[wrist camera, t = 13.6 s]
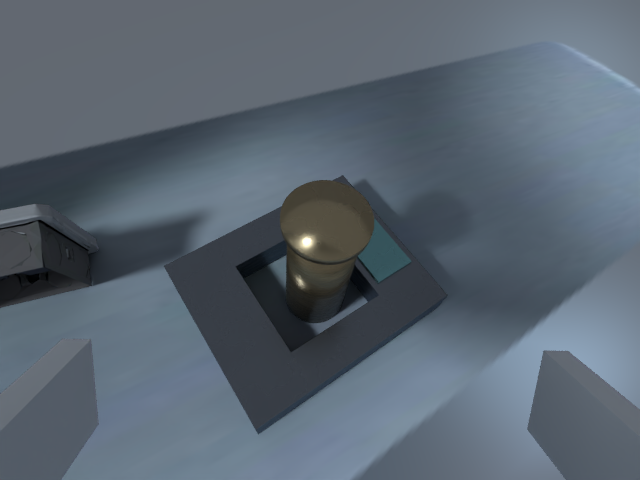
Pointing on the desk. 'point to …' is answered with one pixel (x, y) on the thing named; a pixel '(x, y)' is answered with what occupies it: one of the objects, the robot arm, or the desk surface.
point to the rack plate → (262, 337)
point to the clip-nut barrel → (322, 245)
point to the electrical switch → (41, 253)
